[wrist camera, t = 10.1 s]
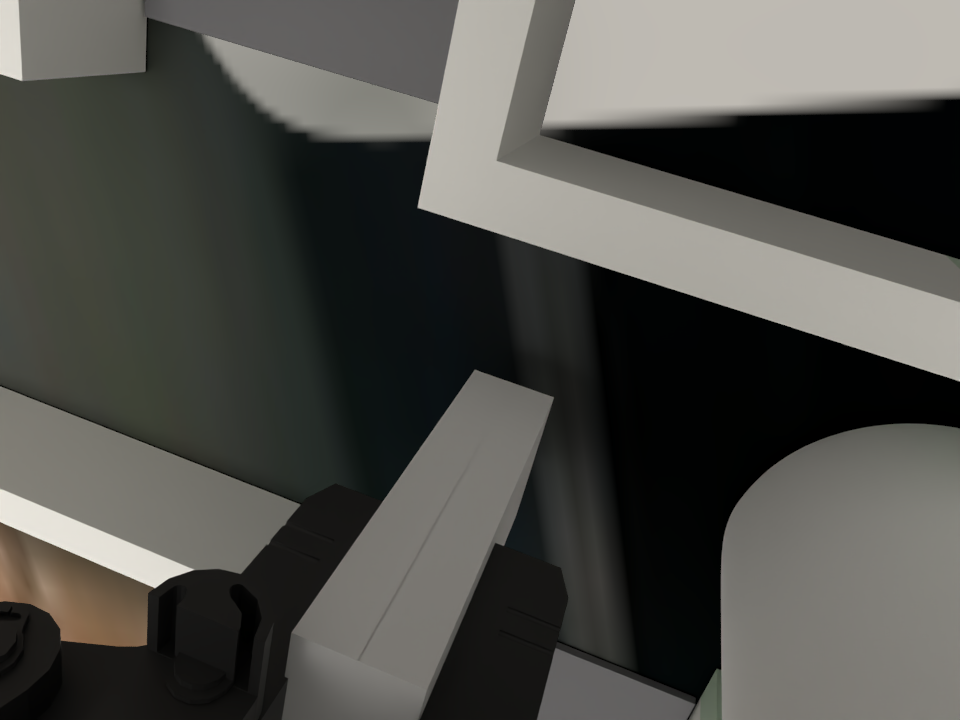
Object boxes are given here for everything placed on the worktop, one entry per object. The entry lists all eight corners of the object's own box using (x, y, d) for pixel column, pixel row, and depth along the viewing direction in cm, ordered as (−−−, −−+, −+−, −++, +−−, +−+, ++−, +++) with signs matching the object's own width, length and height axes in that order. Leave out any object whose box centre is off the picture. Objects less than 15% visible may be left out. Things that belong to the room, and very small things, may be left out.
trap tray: (-11, 557, 23) (-107, 627, 20) (-102, -407, 13) (-319, -524, 10) (935, 969, 18) (973, 1127, 16) (1916, 21, 8) (2462, 18, 6)
